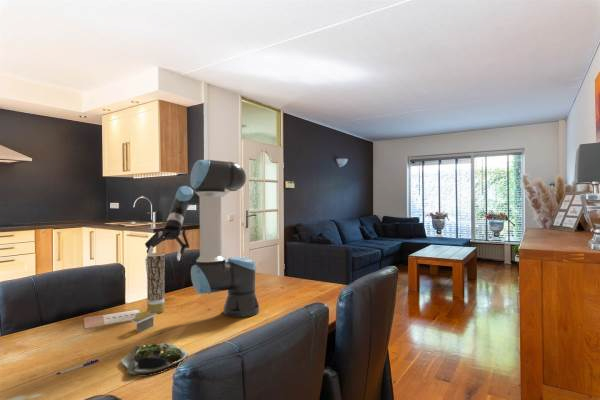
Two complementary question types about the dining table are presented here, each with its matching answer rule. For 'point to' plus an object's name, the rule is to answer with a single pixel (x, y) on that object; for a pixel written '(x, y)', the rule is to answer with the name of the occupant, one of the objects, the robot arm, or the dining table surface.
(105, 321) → the ticket board
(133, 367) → the salad plate
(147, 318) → the platform
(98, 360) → the ballpoint pen
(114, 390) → the dining table surface
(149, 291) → the bark-patterned cylinder
